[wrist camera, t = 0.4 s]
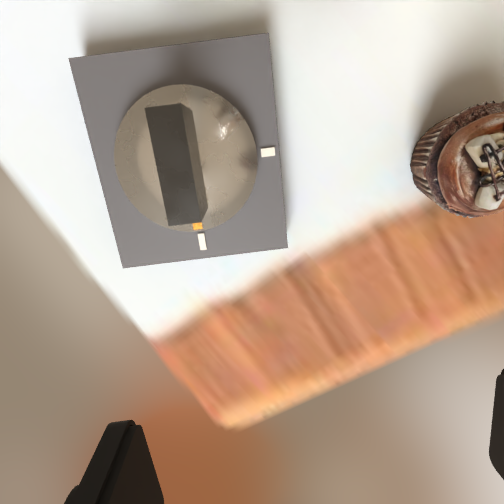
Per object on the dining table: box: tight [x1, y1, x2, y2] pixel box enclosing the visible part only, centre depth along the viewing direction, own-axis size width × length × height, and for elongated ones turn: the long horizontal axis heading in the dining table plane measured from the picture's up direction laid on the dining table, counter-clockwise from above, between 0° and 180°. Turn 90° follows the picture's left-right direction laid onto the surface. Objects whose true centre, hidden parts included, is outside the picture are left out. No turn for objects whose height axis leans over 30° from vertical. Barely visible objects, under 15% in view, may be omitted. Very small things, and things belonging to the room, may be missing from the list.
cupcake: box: [410, 101, 504, 218], centre depth 28 cm, size 10×10×10 cm
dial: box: [114, 84, 258, 232], centre depth 26 cm, size 12×12×6 cm
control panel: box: [69, 33, 288, 268], centre depth 31 cm, size 18×16×3 cm
